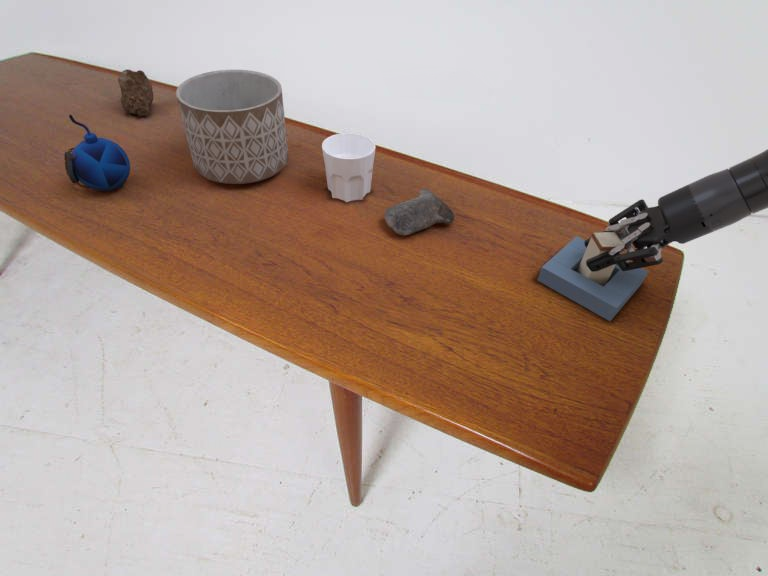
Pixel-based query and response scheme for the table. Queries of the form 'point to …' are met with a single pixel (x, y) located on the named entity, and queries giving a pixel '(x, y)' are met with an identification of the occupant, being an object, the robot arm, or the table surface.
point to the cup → (348, 165)
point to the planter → (234, 125)
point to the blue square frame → (589, 281)
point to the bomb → (97, 162)
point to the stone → (418, 213)
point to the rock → (135, 92)
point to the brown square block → (597, 246)
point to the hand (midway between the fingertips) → (588, 256)
